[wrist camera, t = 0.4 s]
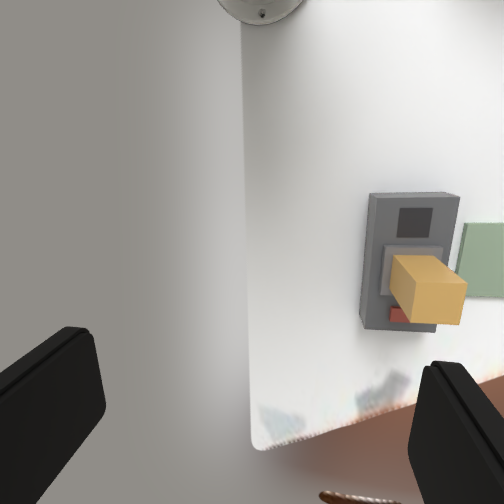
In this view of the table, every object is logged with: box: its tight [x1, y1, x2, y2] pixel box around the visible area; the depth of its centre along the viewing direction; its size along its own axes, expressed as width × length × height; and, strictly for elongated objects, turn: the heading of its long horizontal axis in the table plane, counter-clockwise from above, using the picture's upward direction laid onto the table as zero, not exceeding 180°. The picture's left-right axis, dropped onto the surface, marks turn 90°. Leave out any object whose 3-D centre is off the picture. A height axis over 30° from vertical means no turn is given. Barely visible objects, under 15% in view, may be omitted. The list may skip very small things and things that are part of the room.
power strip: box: [359, 192, 460, 333], centre depth 39 cm, size 18×9×5 cm, turn 2°
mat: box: [455, 223, 504, 297], centre depth 39 cm, size 10×10×1 cm
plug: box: [379, 245, 468, 325], centre depth 35 cm, size 6×6×13 cm
